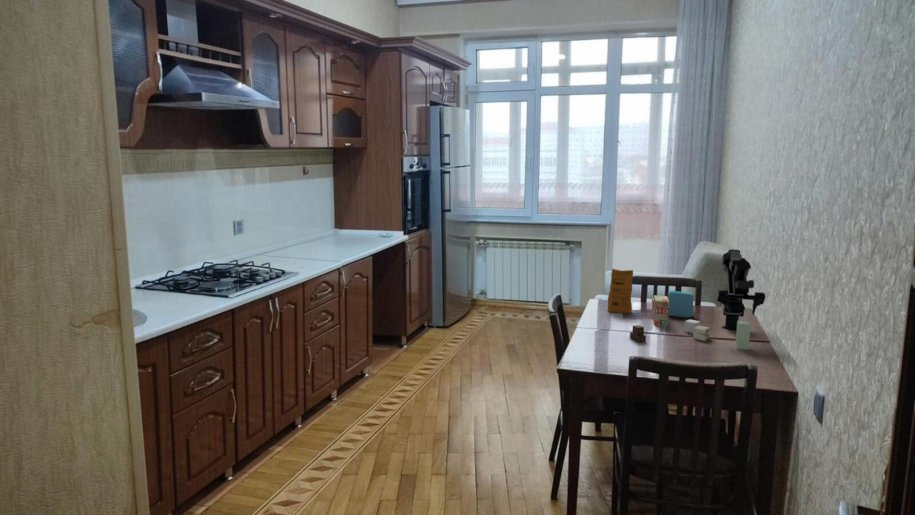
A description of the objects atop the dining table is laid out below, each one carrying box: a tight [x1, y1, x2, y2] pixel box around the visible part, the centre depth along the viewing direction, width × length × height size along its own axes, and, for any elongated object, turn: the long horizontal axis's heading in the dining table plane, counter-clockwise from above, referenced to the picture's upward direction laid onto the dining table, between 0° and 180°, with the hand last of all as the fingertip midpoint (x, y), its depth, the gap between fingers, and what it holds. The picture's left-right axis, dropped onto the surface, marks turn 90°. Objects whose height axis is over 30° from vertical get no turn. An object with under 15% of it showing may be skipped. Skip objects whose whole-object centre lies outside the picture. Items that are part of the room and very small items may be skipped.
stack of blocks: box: [651, 294, 669, 327], centre depth 313 cm, size 21×6×12 cm, turn 167°
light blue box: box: [667, 290, 695, 319], centre depth 323 cm, size 12×4×12 cm, turn 66°
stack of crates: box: [629, 324, 647, 344], centre depth 279 cm, size 15×15×7 cm
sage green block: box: [734, 320, 752, 351], centre depth 269 cm, size 4×4×11 cm
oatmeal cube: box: [692, 325, 711, 342], centre depth 282 cm, size 5×5×5 cm
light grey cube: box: [683, 319, 701, 335], centre depth 293 cm, size 5×5×5 cm
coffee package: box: [607, 268, 634, 314], centre depth 330 cm, size 10×12×22 cm
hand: (741, 313), depth 274 cm, fingers open, 9 cm apart
